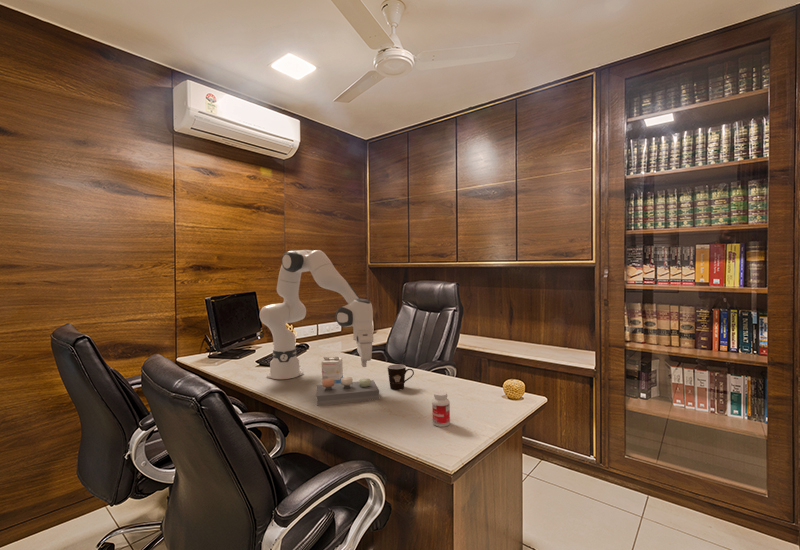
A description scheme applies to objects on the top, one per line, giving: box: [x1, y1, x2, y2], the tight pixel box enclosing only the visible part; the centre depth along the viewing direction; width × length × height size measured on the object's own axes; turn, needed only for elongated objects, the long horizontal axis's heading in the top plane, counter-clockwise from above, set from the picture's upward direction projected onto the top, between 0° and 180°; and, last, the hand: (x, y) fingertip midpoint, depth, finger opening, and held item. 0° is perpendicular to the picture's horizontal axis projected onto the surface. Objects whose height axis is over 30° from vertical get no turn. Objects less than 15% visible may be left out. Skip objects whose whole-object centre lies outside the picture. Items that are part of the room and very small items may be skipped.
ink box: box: [321, 356, 344, 384], centre depth 184 cm, size 9×8×13 cm
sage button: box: [358, 378, 371, 387], centre depth 165 cm, size 5×5×4 cm
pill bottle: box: [431, 390, 451, 428], centre depth 132 cm, size 6×6×11 cm
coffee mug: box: [387, 363, 415, 391], centre depth 173 cm, size 12×9×10 cm
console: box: [316, 379, 380, 407], centre depth 163 cm, size 15×26×4 cm, turn 103°
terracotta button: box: [321, 379, 334, 391], centre depth 161 cm, size 5×5×4 cm
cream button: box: [341, 376, 354, 389], centre depth 163 cm, size 5×5×4 cm
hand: (364, 366), depth 165 cm, fingers closed
